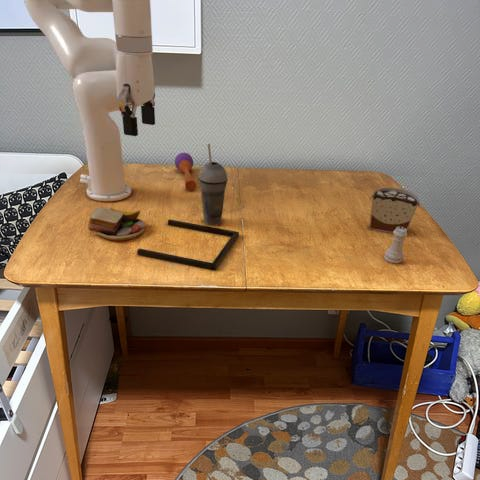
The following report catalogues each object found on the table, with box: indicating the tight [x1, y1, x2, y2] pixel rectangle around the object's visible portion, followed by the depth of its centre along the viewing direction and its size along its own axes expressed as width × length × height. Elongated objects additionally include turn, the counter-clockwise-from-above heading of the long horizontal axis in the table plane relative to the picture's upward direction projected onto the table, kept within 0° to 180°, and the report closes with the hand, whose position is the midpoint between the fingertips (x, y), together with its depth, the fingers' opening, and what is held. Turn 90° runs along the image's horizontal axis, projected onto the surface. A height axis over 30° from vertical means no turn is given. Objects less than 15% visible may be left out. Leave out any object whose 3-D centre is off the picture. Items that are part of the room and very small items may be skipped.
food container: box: [368, 187, 421, 234], centre depth 123 cm, size 12×6×10 cm, turn 71°
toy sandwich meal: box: [87, 206, 147, 242], centre depth 116 cm, size 12×14×5 cm
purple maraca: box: [174, 152, 197, 192], centre depth 146 cm, size 6×6×20 cm
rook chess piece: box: [383, 227, 408, 264], centre depth 110 cm, size 4×4×8 cm
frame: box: [136, 218, 240, 271], centre depth 113 cm, size 19×18×1 cm
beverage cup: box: [198, 143, 228, 226], centre depth 118 cm, size 7×7×20 cm
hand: (140, 129), depth 109 cm, fingers open, 9 cm apart
